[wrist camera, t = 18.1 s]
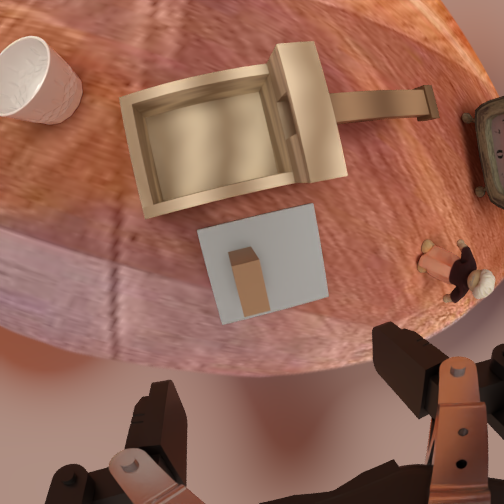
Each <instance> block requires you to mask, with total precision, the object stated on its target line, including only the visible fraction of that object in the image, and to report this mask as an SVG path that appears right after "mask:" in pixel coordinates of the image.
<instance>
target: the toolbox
mask: <svg viewBox="0 0 504 504" xmlns="http://www.w3.org/2000/svg"><path fill="white" fill-rule="evenodd" d="M119 100H120V106H121V111H122V117H123V122H124V128H125V133H126V138H127V143H128V148H129V153H130V157H131V162H132V167H133V171H134V176H135V180H136V184H137V188H138V193H139V197H140V201H141V205H142V209H143V213H144V217H145V219H148V218H152V217H156V216H159V215H163V214H167V213H171V212H174V211H178V210H182V209H186V208H190V207H194V206H197V205H201V204H205V203H209V202H213V201H218V200H222V199H226V198H230V197H234V196H238V195H243V194H247V193H251V192H256V191H260V190H265V189H269V188H274V187H278V186H283V185H288V184H292V183H313V182H318V181H323V180H328V179H333V178H339V177H344V176H348V174H347V169H346V164H345V159H344V155H343V150H342V145H341V141H340V136H339V132H338V128H337V123H336V119H335V115H334V111H333V107H332V103H331V99H330V95H329V92H328V88H327V84H326V81H325V77H324V73H323V70H322V66H321V63H320V60H319V56H318V53H317V50H316V47H315V43H314V41H309V42H294V43H282V44H276V46H275V48H274V50H273V52H272V54H271V56H270V58H269V60H268V62H267V64H260V65H253V66H247V67H241V68H235V69H229V70H224V71H218V72H213V73H208V74H204V75H199V76H195V77H190V78H186V79H182V80H178V81H174V82H170V83H166V84H162V85H159V86H155V87H152V88H148V89H145V90H142V91H138V92H135V93H132V94H129V95H126V96H122V97H119Z"/></svg>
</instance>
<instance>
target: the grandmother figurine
mask: <svg viewBox="0 0 504 504" xmlns="http://www.w3.org/2000/svg"><path fill="white" fill-rule="evenodd" d="M457 246H458V247H459V248H460V250H461V252H462V254H461V259H460V258H459V257H458V256H457V255H455V254H453V253H452V252H450V251H448V250H445V249H443V248H441V247H438V246H436V245H434V243H432V241H430V240H425V241H424V242H423V244H422V252H423V253H424V255H422V256H421V258H420V260H419V262H418V267H417V268H418V271H419V272H421V273H423V272H428V274H430V275H431V276H433V277H435V278H437V279H439V280H441V281H443V282H445V283H448V284H454V285H455V286H456V288H455V289H454V290H453V291H452V292H451V293H450V294H446V295H444V296H443V301H444V302H445V303H447V302H454V303H456V302H458V301H459V300H460V299H461V298H463V297H464V296H465V294H466V293H467V292H468V290H469V289H470V290H471V291H472V294H473V296H474V297H475V298H477V299H481V298H484V297H487V296H488V295H489V294H490V293H491V292H492V291H493V290H494V283H495V277H494V276H493V274H492V272H491V271H489V270H486V269H483V270H476V269H477V266H476V262H475V259H474V257H473V255H472V252H471V250H470V248H469V247H468V246H467V245H466V244H465V243H464V241H463V240H462V239H460V240H458V241H457Z"/></svg>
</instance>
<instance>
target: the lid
mask: <svg viewBox="0 0 504 504" xmlns="http://www.w3.org/2000/svg"><path fill="white" fill-rule="evenodd" d="M197 233H198V237H199V241H200V245H201V249H202V253H203V256H204V260H205V264H206V268H207V272H208V275H209V279H210V283H211V286H212V290H213V294H214V297H215V301H216V304H217V308H218V312H219V315H220V319H221V322H222V325H224V324H228V323H232V322H236V321H240V320H244V319H248V318H252V317H256V316H260V315H264V314H268V313H272V312H275V311H279V310H283V309H287V308H290V307H294V306H297V305H301V304H305V303H308V302H312V301H315V300H319V299H322V298H325V297H329V294H328V287H327V281H326V274H325V268H324V262H323V255H322V249H321V244H320V238H319V232H318V226H317V221H316V215H315V210H314V205H313V203H309V204H305V205H300V206H296V207H291V208H287V209H282V210H278V211H273V212H269V213H265V214H260V215H256V216H252V217H248V218H243V219H239V220H235V221H231V222H227V223H223V224H218V225H214V226H210V227H206V228H202V229H198V230H197Z"/></svg>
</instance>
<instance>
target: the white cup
mask: <svg viewBox="0 0 504 504" xmlns="http://www.w3.org/2000/svg"><path fill="white" fill-rule="evenodd" d="M82 94H83V90H82V81H81V80H80V78H79V77H78V76H77V74H76V73H75V72H74V71H73V70H72V68H71V67H70V66H69V65H68V64H67V63H66V62H65V61H64V60H63V59H62V57H61V56H60V55H59V54H58V53H56V52H55V51H54V50H53V49H52V48H51V47H50V46H49V45H48V44H47V43H46V42H45V41H44V40H43V39H41V38H40V37H36V36H27V37H23V38H20V39H18V40H16V41H14V42H13V43H11V44H10V45H9V46H7V47H6V48H5V49H4V50H3V51H2V52H1V53H0V116H3V117H8V118H13V119H18V120H23V121H30V122H35V123H44V124H48V125H51V124H57V123H61V122H63V121H64V120H66V119H67V118H69V117H70V116H71V115H72V114H73V112H74V111H75V110H76V108H77V107H78V106H79V103H80V100H81V97H82Z"/></svg>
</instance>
